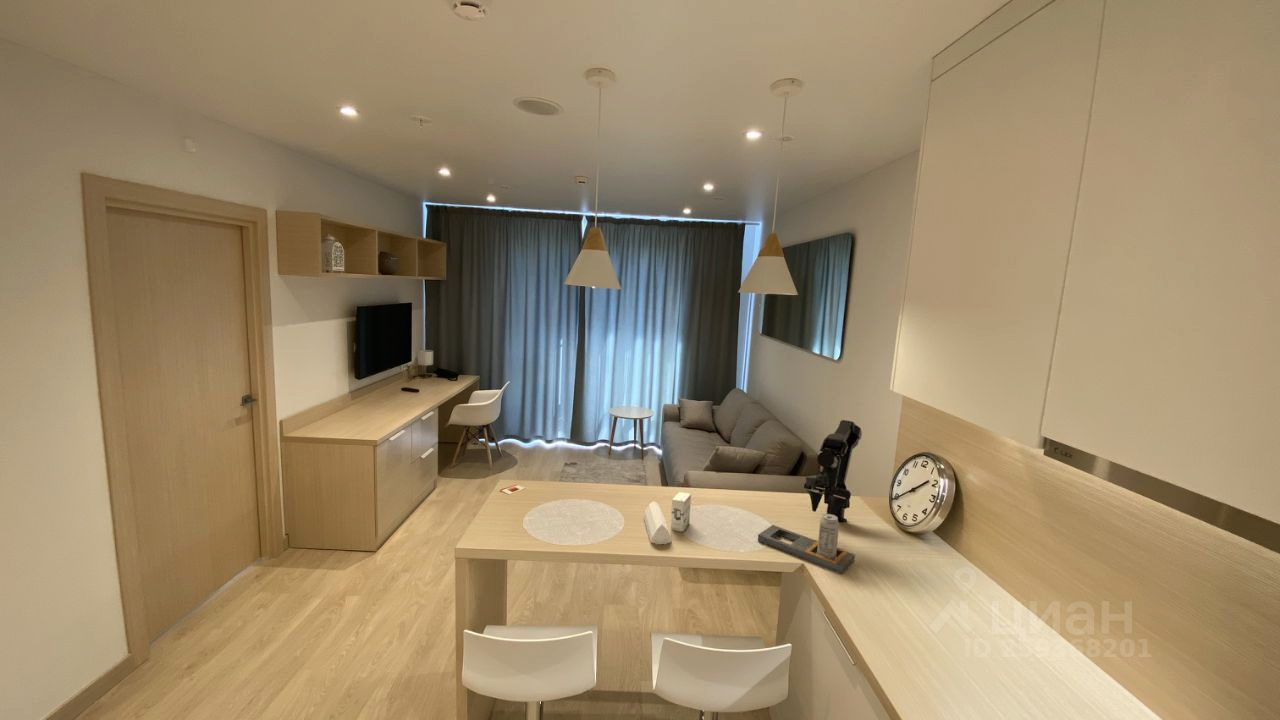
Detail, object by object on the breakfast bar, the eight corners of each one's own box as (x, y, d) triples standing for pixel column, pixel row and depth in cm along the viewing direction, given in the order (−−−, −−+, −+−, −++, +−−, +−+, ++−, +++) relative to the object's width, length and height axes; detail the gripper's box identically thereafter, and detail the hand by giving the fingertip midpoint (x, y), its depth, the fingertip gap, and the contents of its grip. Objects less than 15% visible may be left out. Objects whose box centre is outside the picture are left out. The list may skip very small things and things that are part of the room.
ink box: (677, 520, 196) (679, 491, 195) (689, 522, 195) (691, 493, 193) (670, 529, 189) (671, 499, 187) (683, 532, 187) (684, 501, 185)
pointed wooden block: (638, 506, 198) (646, 536, 175) (654, 497, 199) (664, 526, 175) (647, 522, 200) (656, 553, 176) (663, 513, 200) (674, 543, 176)
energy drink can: (838, 560, 171) (843, 517, 169) (829, 565, 167) (834, 522, 165) (822, 552, 176) (826, 511, 173) (813, 558, 172) (817, 516, 170)
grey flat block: (757, 541, 182) (758, 533, 182) (772, 531, 190) (772, 524, 190) (842, 574, 162) (842, 566, 162) (854, 561, 170) (855, 553, 170)
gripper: (796, 463, 192) (788, 504, 189) (829, 468, 175) (821, 513, 172) (820, 470, 196) (812, 511, 193) (855, 475, 178) (847, 520, 175)
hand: (822, 513), depth 183 cm, fingers open, 9 cm apart
